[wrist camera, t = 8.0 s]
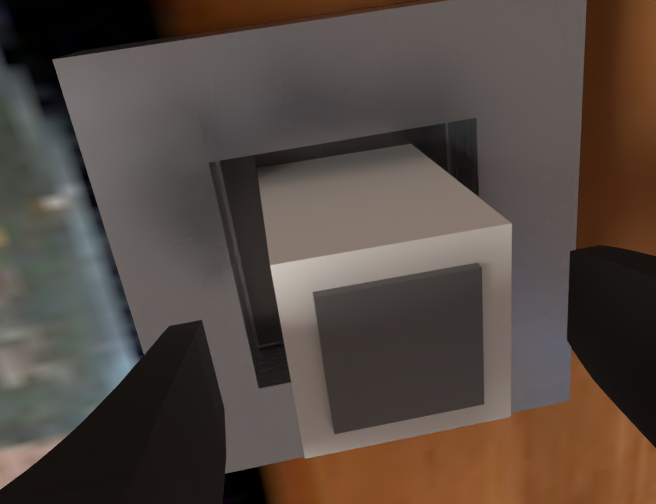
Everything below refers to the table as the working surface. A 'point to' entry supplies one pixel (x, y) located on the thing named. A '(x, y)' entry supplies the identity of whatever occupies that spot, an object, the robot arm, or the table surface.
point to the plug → (387, 297)
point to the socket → (324, 141)
